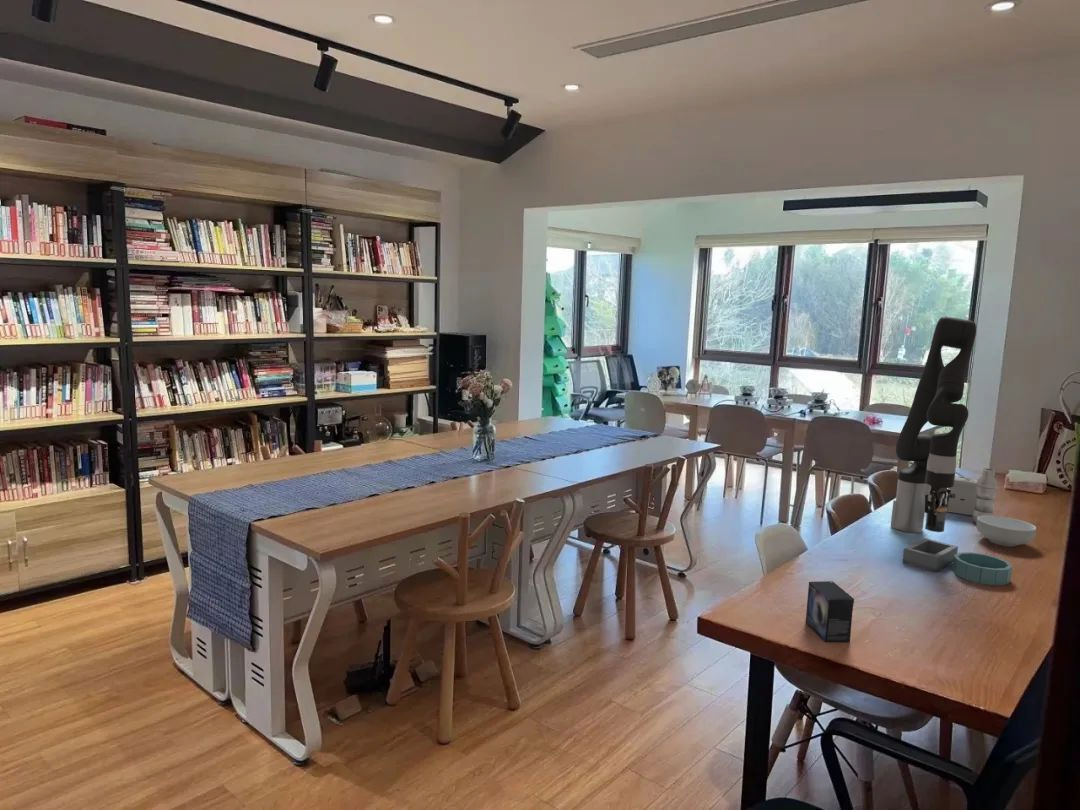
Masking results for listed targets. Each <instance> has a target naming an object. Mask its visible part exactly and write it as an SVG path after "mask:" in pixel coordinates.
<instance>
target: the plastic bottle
mask: <svg viewBox="0 0 1080 810" xmlns="http://www.w3.org/2000/svg"><path fill="white" fill-rule="evenodd" d="M981 474H982V475H981V476H980V477H979V478H977V479H978V480H977V482H976V485H977V486H976V488H977V498H976V504H975V510H974V511H973V515H972V520H973V523H977V517H979V516H985V515H988V516H995V515H994V507H995V506H994V503H995V499H996V494H997V489H998V486H999V485H998V482H997V480H996V478H995V476H996V470H995V469H992V468H985V467H984V468H983V469H982V472H981Z"/></svg>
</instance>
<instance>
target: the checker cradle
mask: <svg viewBox="0 0 1080 810" xmlns="http://www.w3.org/2000/svg"><path fill="white" fill-rule="evenodd" d="M958 550H959V546H958V545H953V544H950V543H946V542H941V541H937V540H935V539H929V538H926V537H925V538H923V539H920V540H919V541H916V542H915V543H911V544H910V545H908V546H905V547H904V548H903V552H902V553H903V554H902V564H906V565H910V566H912V567H916V568H919V569H924V570H927V571H931V572H934V573H937V572H939V571H941V570H943V569H944V568H946V567H948V566H949V565H951V564H953V560H954V555H955V554H957V553H958Z"/></svg>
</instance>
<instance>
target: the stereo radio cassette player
mask: <svg viewBox="0 0 1080 810" xmlns="http://www.w3.org/2000/svg"><path fill="white" fill-rule="evenodd" d="M956 475H958V476H956ZM978 479H979V478H972V477H971V478H970V477H965V476H963V475H962V474H960V473H959V472H957V471H955V480H954V486H953V487H951V488H947V489H950V490H951V493H950V498H949V503H948V508H947V511H946V513H947V512H949V513H953V514H960V515H965V516H972V515H973V511H974V510H975V504H976V498H977V488H976V486H977V485H976V482H977V480H978ZM930 490H931V486H930V485H928V488H927V494H929V491H930ZM972 517H973V516H972Z"/></svg>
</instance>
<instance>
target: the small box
mask: <svg viewBox="0 0 1080 810" xmlns="http://www.w3.org/2000/svg"><path fill="white" fill-rule="evenodd" d="M807 590H808V591H807V601H806V614H805V623H806V624H807V625H808V626H809V627H810V628H811V629H812V630H813V632H815V633H816V634H817V636H819V637H820V638H821V640H822V641H823V640H824V641H825V643H850V642H851V634H852V623H853V622H852V621H853V620H852V619H853V611H854V602H855V599H854V597H852V596H851V595H850V594H849V593H848V592H846V591H845V590H844V589H843V588H841V587H840V586H839V585H838V584H837V583H836V582H834V581H829V580H827V581H808V588H807ZM824 641H823V642H824Z"/></svg>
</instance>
